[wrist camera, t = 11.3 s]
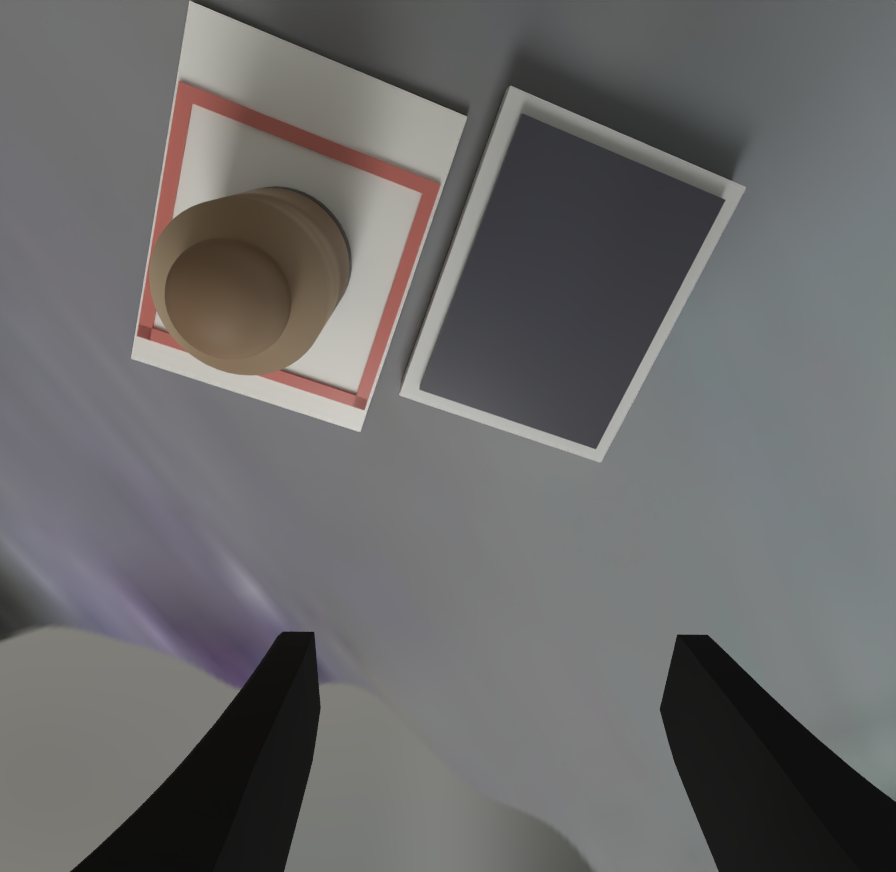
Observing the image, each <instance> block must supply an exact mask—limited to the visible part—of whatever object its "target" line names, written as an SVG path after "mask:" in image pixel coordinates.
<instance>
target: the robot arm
mask: <svg viewBox="0 0 896 872" xmlns="http://www.w3.org/2000/svg"><path fill="white" fill-rule="evenodd" d="M660 712H661V715H662V719H663V723H664V727H665V731H666V734H667V738H668V742H669V745H670V749H671V752H672V755H673V759H674V762H675V765H676V767H677V770H678V772H679V775H680V777H681V780H682V782H683V785H684V787H685V790H686V792H687V795H688V797H689V800H690V802H691V805H692V807H693V810H694V812H695V814H696V817H697V819H698V822H699V824H700V827H701V829H702V832H703V834H704V836H705V839H706V841H707V844H708V846H709V849H710V851H711V853H712V856H713V858H714V861H715V863H716V866H717V868H718V871H719V872H896V802H895V801H894V800H892V799H891V798H890V797H888V796H887V795H886V794H884V793H883V792H882V791H880V790H879V789H878V788H876V787H875V786H874V785H872V784H871V783H870V782H869V781H867V780H866V779H865V778H864V777H862V776H861V775H860V774H859V773H857V772H856V771H855V770H854V769H853V768H851V767H850V766H849V765H848V764H847V763H845V762H844V761H843V760H842V759H841V758H840V757H838V756H837V755H836V754H835V753H834V752H833V751H831V750H830V749H829V748H828V747H827V746H825V745H824V744H823V743H822V742H821V741H820V740H818V739H817V738H816V737H815V736H814V735H813V734H812V733H811V732H809V731H808V730H807V729H806V728H805V727H804V726H803V725H802V724H801V723H799V722H798V721H797V720H796V719H795V718H794V717H793V716H792V715H791V714H790V713H789V712H787V711H786V710H785V709H784V708H783V707H782V706H781V705H780V704H779V703H778V702H777V701H776V700H775V699H774V698H773V697H771V696H770V695H769V694H768V693H767V692H766V691H765V690H764V689H763V688H762V687H761V686H760V685H759V684H758V683H757V682H756V681H755V680H754V679H753V678H752V677H751V676H750V675H749V674H748V673H747V672H746V671H744V670H743V669H742V668H741V667H740V666H739V665H738V664H737V663H736V662H735V661H734V660H733V659H732V658H731V657H730V656H729V655H728V654H727V653H726V652H725V651H724V650H723V649H722V648H721V647H720V646H719V645H718V644H717V643H716V642H715V641H714V640H713V639H711V638H710V637H709V636H708V635H677V638H676V642H675V647H674V651H673V655H672V659H671V664H670V668H669V672H668V676H667V681H666V685H665V689H664V694H663V698H662V702H661V706H660ZM319 714H320V695H319V683H318V672H317V660H316V648H315V636H314V632H282V633H281V634H280V635H279V636H278V637H277V638H276V640H275V641H274V643H273V644H272V646H271V647H270V649H269V650H268V652H267V654H266V655H265V657H264V658H263V659H262V661H261V662H260V664H259V665H258V667H257V668H256V670H255V671H254V672H253V674H252V675H251V677H250V678H249V679H248V681H247V682H246V684H245V685H244V686H243V688H242V689H241V690H240V692H239V693H238V694H237V696H236V697H235V698H234V699H233V701H232V702H231V703H230V705H229V706H228V707H227V709H226V710H225V711H224V713H223V714H222V715H221V716H220V718H219V719H218V720H217V722H216V723H215V724H214V725H213V727H212V728H211V729H210V730H209V731H208V732H207V734H206V735H205V736H204V737H203V738H202V739H201V741H200V742H199V743H198V744H197V745H196V747H195V748H194V749H193V750H192V751H191V753H190V754H189V755H188V756H187V757H186V758H185V760H184V761H183V762H182V763H181V764H180V765H179V766H178V767H177V769H176V770H175V771H174V772H173V773H172V774H171V775H170V776H169V777H168V778H167V779H166V781H165V782H164V783H163V784H162V785H161V786H160V787H159V788H158V789H157V790H156V791H155V792H154V793H153V794H152V795H151V796H150V797H149V798H148V799H147V800H146V801H145V802H144V803H143V804H142V805H141V806H140V807H139V808H138V810H136V811H135V812H134V813H133V814H132V815H131V816H130V817H129V818H128V819H127V820H126V821H125V822H124V823H123V824H122V825H121V826H120V827H119V828H118V829H117V830H116V831H114V832H113V833H112V834H111V835H110V836H109V837H108V838H107V839H106V840H105V841H104V842H103V843H102V844H101V845H100V846H99V847H98V848H96V849H95V850H94V851H93V852H92V853H91V854H90V855H89V856H87V857H86V858H85V859H84V860H83V861H82V862H81V863H80V864H78V866H76V867H75V868H74V869H73V870H72V871H70V872H284V869H285V865H286V861H287V857H288V854H289V850H290V846H291V842H292V838H293V834H294V831H295V827H296V823H297V819H298V815H299V812H300V808H301V804H302V800H303V796H304V792H305V789H306V784H307V781H308V777H309V773H310V769H311V765H312V761H313V754H314V748H315V741H316V736H317V729H318V722H319Z"/></svg>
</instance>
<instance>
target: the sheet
mask: <svg viewBox="0 0 896 872" xmlns="http://www.w3.org/2000/svg"><path fill="white" fill-rule="evenodd" d="M466 120H467V116H465V115H462V114H460V113H457V112H455V111H453V110H450V109H448V108H445V107H443V106H441V105H438V104H436V103H433V102H431V101H429V100H426V99H424V98H421V97H419V96H417V95H414V94H412V93H410V92H407V91H405V90H402V89H400V88H398V87H395V86H393V85H390V84H388V83H386V82H383V81H381V80H378V79H376V78H374V77H371V76H369V75H366V74H364V73H362V72H359V71H357V70H354V69H352V68H350V67H347V66H345V65H342V64H340V63H338V62H335V61H333V60H330V59H328V58H326V57H323V56H321V55H319V54H316V53H314V52H311V51H309V50H307V49H304V48H302V47H299V46H297V45H295V44H292V43H290V42H287V41H285V40H283V39H280V38H278V37H275V36H273V35H271V34H268V33H266V32H263V31H261V30H259V29H256V28H254V27H251V26H249V25H247V24H244V23H242V22H239V21H237V20H235V19H232V18H230V17H228V16H225V15H223V14H220V13H218V12H216V11H213V10H211V9H208V8H206V7H204V6H201V5H199V4H196V3H194V2H192V1H189V7H188V13H187V19H186V25H185V31H184V38H183V44H182V50H181V56H180V62H179V68H178V74H177V80H176V87H175V93H174V99H173V105H172V111H171V117H170V123H169V129H168V136H167V142H166V148H165V154H164V160H163V166H162V172H161V178H160V185H159V191H158V197H157V203H156V209H155V215H154V221H153V227H152V234H151V240H150V246H149V252H148V258H147V264H146V270H145V276H144V283H143V289H142V295H141V301H140V307H139V313H138V319H137V325H136V332H135V338H134V344H133V350H132V356H131V359H134V360H137V361H140V362H143V363H146V364H149V365H152V366H156V367H159V368H162V369H165V370H168V371H171V372H174V373H177V374H181V375H184V376H187V377H190V378H193V379H196V380H199V381H202V382H205V383H209V384H212V385H215V386H218V387H221V388H224V389H227V390H230V391H234V392H237V393H240V394H243V395H246V396H249V397H252V398H255V399H258V400H262V401H265V402H268V403H271V404H274V405H277V406H280V407H283V408H287V409H290V410H293V411H296V412H299V413H302V414H305V415H308V416H312V417H315V418H318V419H321V420H324V421H327V422H330V423H333V424H336V425H340V426H343V427H346V428H349V429H352V430H355V431H358V432H360V431H361V428H362V425H363V422H364V419H365V416H366V413H367V410H368V407H369V405H370V402H371V399H372V396H373V393H374V390H375V387H376V384H377V381H378V378H379V375H380V372H381V369H382V366H383V363H384V360H385V358H386V355H387V352H388V349H389V346H390V343H391V340H392V337H393V334H394V331H395V328H396V325H397V322H398V319H399V316H400V313H401V311H402V308H403V305H404V302H405V299H406V296H407V293H408V290H409V287H410V284H411V281H412V278H413V275H414V272H415V269H416V266H417V264H418V261H419V258H420V255H421V252H422V249H423V246H424V243H425V240H426V237H427V234H428V231H429V228H430V225H431V222H432V219H433V217H434V214H435V211H436V208H437V205H438V202H439V199H440V196H441V193H442V190H443V187H444V184H445V181H446V178H447V175H448V172H449V170H450V167H451V164H452V161H453V158H454V155H455V152H456V149H457V146H458V143H459V140H460V137H461V134H462V131H463V128H464V125H465V123H466ZM273 186H279V187H288V188H293V189H296V190H299V191H302V192H305V193H307V194H309V195H310V196H312V197H314V198H315V199H317V200H318V201H320V202H321V203H322V204H324V205H325V206H326V207H327V208H328V209H329V210H330V211H331V212H332V213H333V214H334V216H335V217H336V218H337V220H338V221H339V223H340V224H341V226H342V228H343V230H344V232H345V234H346V237H347V239H348V242H349V246H350V250H351V258H352V270H351V277H350V281H349V284H348V287H347V289H346V292H345V294H344V295H343V297H342V299H341V300H340V302H339V304H338V305H337V307H336V308H335V310H334V312H333V313H332V315H331V317H330V318H329V320H328V321H327V323H326V325H325V326H324V328H323V330H322V331H321V333H320V334H319V336H318V338H317V339H316V341H315V342H314V344H313V345H312V347H311V348H310V349H309V350H308V351H307V353H306V354H304V355H303V356H302V357H301V358H300V359H299V360H297V361H296V362H294V363H293V364H291V365H290V366H288V367H286V368H284V369H282V370H279V371H276V372H273V373H268V374H263V375H251V376H250V375H237V374H232V373H227V372H224V371H221V370H217V369H215V368H213V367H211V366H208V365H206V364H204V363H203V362H201V361H199V360H198V359H196V358H195V357H193V356H192V355H191V354H189V353H188V352H187V351H185V350H184V349H183V348H182V347H181V346H180V345H179V344H178V343H177V342H176V341H175V340H174V338H173V337H172V336H171V335H170V334H169V332H168V331H167V329H166V328H165V326H164V325H163V323H162V321H161V319H160V317H159V315H158V313H157V311H156V308H155V306H154V303H153V299H152V295H151V290H150V282H149V268H150V261H151V256H152V253H153V249H154V246H155V244H156V242H157V240H158V238H159V236H160V234H161V233H162V231H163V230H164V228H165V227H166V226H167V225H168V224H169V223H170V222H171V221H172V220H173V219H174V218H175V217H176V216H177V215H179V214H180V213H181V212H183V211H185V210H186V209H188V208H190V207H192V206H194V205H197V204H200V203H202V202H206V201H210V200H214V199H219V198H223V197H227V196H231V195H235V194H239V193H243V192H247V191H251V190H255V189H259V188H264V187H273Z"/></svg>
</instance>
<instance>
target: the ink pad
mask: <svg viewBox="0 0 896 872" xmlns="http://www.w3.org/2000/svg"><path fill="white" fill-rule="evenodd" d="M746 188H747V187H744V186H742V185H740V184H737V183H735V182H733V181H730V180H728V179H726V178H723V177H721V176H719V175H717V174H714V173H712V172H710V171H707V170H705V169H703V168H700V167H698V166H696V165H693V164H691V163H689V162H686V161H684V160H682V159H679V158H677V157H675V156H672V155H670V154H668V153H666V152H663V151H661V150H659V149H656V148H654V147H652V146H649V145H647V144H645V143H642V142H640V141H638V140H635V139H633V138H631V137H628V136H626V135H624V134H621V133H619V132H617V131H615V130H612V129H610V128H608V127H605V126H603V125H601V124H598V123H596V122H594V121H591V120H589V119H587V118H584V117H582V116H580V115H577V114H575V113H573V112H570V111H568V110H566V109H564V108H561V107H559V106H557V105H554V104H552V103H550V102H547V101H545V100H543V99H540V98H538V97H536V96H533V95H531V94H529V93H526V92H524V91H522V90H519V89H517V88H515V87H513V86H509V87H508V88H507V89H506V91H505V94H504V97H503V100H502V102H501V105H500V108H499V111H498V114H497V116H496V119H495V122H494V125H493V128H492V130H491V133H490V136H489V139H488V142H487V144H486V147H485V150H484V153H483V156H482V158H481V161H480V164H479V167H478V170H477V172H476V175H475V178H474V181H473V184H472V186H471V189H470V192H469V195H468V198H467V200H466V203H465V206H464V209H463V211H462V214H461V217H460V220H459V223H458V225H457V228H456V231H455V234H454V237H453V239H452V242H451V245H450V248H449V251H448V253H447V256H446V259H445V262H444V265H443V267H442V270H441V273H440V276H439V279H438V281H437V284H436V287H435V290H434V293H433V295H432V298H431V301H430V304H429V307H428V309H427V312H426V315H425V318H424V321H423V323H422V326H421V329H420V332H419V335H418V337H417V340H416V343H415V346H414V348H413V351H412V354H411V357H410V360H409V362H408V365H407V368H406V371H405V374H404V376H403V379H402V382H401V386H400V392H399V395H400V396H403V397H406V398H409V399H412V400H415V401H418V402H421V403H423V404H426V405H429V406H432V407H435V408H438V409H441V410H444V411H447V412H450V413H453V414H456V415H459V416H462V417H465V418H468V419H471V420H474V421H477V422H480V423H483V424H486V425H489V426H492V427H495V428H498V429H501V430H504V431H507V432H510V433H513V434H516V435H519V436H522V437H525V438H528V439H531V440H534V441H537V442H540V443H543V444H546V445H549V446H552V447H555V448H558V449H561V450H564V451H567V452H570V453H573V454H576V455H579V456H582V457H585V458H588V459H591V460H594V461H597V462H600V463H601V462H602V460H603V458H604V456H605V454H606V452H607V450H608V448H609V446H610V445H611V443H612V441H613V439H614V437H615V435H616V433H617V431H618V429H619V428H620V426H621V424H622V422H623V420H624V418H625V416H626V414H627V412H628V411H629V409H630V407H631V405H632V403H633V401H634V399H635V397H636V395H637V393H638V392H639V390H640V388H641V386H642V384H643V382H644V380H645V378H646V376H647V375H648V373H649V371H650V369H651V367H652V365H653V363H654V361H655V359H656V358H657V356H658V354H659V352H660V350H661V348H662V346H663V344H664V342H665V341H666V339H667V337H668V335H669V333H670V331H671V329H672V327H673V325H674V324H675V322H676V320H677V318H678V316H679V314H680V312H681V310H682V308H683V307H684V305H685V303H686V301H687V299H688V297H689V295H690V293H691V291H692V290H693V288H694V286H695V284H696V282H697V280H698V278H699V276H700V274H701V273H702V271H703V269H704V267H705V265H706V263H707V261H708V259H709V257H710V256H711V254H712V252H713V250H714V248H715V246H716V244H717V242H718V240H719V239H720V237H721V235H722V233H723V231H724V229H725V227H726V225H727V223H728V222H729V220H730V218H731V216H732V214H733V212H734V210H735V208H736V206H737V205H738V203H739V201H740V199H741V197H742V195H743V193H744V191H745V189H746Z"/></svg>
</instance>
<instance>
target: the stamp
mask: <svg viewBox="0 0 896 872" xmlns="http://www.w3.org/2000/svg"><path fill="white" fill-rule="evenodd" d="M351 270H352V258H351V250H350V246H349V242H348V239H347V237H346V234H345V232H344V230H343V228H342V226H341V224H340V223H339V221H338V220H337V218H336V217H335V216H334V214H333V213H332V212H331V211H330V210H329V209H328V208H327V207H326V206H325V205H324V204H322V203H321V202H320V201H318V200H317V199H315V198H314V197H312V196H310V195H309V194H307V193H305V192H302V191H299V190H296V189H293V188H288V187H279V186H273V187H264V188H259V189H255V190H251V191H247V192H243V193H239V194H235V195H231V196H227V197H223V198H219V199H214V200H210V201H206V202H202V203H200V204H197V205H194V206H192V207H190V208H188V209H186V210H185V211H183V212H181V213H180V214H179V215H177V216H176V217H175V218H174V219H173V220H172V221H171V222H170V223H169V224H168V225H167V226H166V227H165V228H164V230H163V231H162V233H161V234H160V236H159V238H158V240H157V242H156V244H155V246H154V249H153V253H152V256H151V261H150V268H149V282H150V290H151V295H152V299H153V303H154V306H155V308H156V311H157V313H158V315H159V317H160V319H161V321H162V323H163V325H164V326H165V328H166V329H167V331H168V332H169V334H170V335H171V336H172V337H173V338H174V340H175V341H176V342H177V343H178V344H179V345H180V346H181V347H182V348H183V349H184V350H185V351H187V352H188V353H189V354H191V355H192V356H193V357H195V358H196V359H198V360H199V361H201V362H203V363H204V364H206V365H208V366H211V367H213V368H215V369H217V370H221V371H224V372H227V373H232V374H237V375H250V376H251V375H263V374H268V373H273V372H276V371H279V370H282V369H284V368H286V367H288V366H290V365H291V364H293V363H294V362H296V361H297V360H299V359H300V358H301V357H302V356H303V355H304V354H306V353H307V351H308V350H309V349H310V348H311V347H312V345H313V344H314V342H315V341H316V339H317V338H318V336H319V334H320V333H321V331H322V330H323V328H324V326H325V325H326V323H327V321H328V320H329V318H330V317H331V315H332V313H333V312H334V310H335V308H336V307H337V305H338V304H339V302H340V300H341V299H342V297H343V295H344V294H345V292H346V289H347V287H348V284H349V281H350V277H351Z"/></svg>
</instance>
